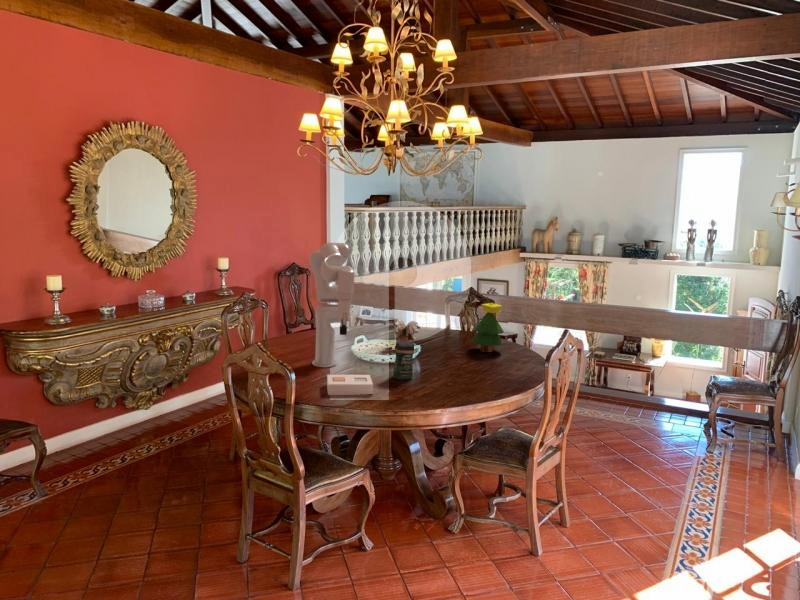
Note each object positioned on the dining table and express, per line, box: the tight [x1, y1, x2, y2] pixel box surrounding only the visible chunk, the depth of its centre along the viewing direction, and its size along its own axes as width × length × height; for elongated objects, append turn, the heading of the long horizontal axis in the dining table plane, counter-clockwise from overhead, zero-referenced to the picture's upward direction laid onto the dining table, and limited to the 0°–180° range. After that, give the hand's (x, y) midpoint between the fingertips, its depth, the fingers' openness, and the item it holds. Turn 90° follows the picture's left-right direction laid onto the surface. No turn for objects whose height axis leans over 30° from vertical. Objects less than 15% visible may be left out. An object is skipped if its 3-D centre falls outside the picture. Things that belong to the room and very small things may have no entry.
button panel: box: [326, 374, 374, 396], centre depth 273 cm, size 14×20×5 cm
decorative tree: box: [470, 301, 505, 353], centre depth 352 cm, size 19×19×30 cm
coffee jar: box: [392, 340, 415, 381], centre depth 294 cm, size 10×8×19 cm
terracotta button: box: [333, 377, 345, 381], centre depth 272 cm, size 5×5×3 cm
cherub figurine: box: [394, 317, 422, 353], centre depth 349 cm, size 18×18×18 cm
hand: (343, 334), depth 276 cm, fingers closed
